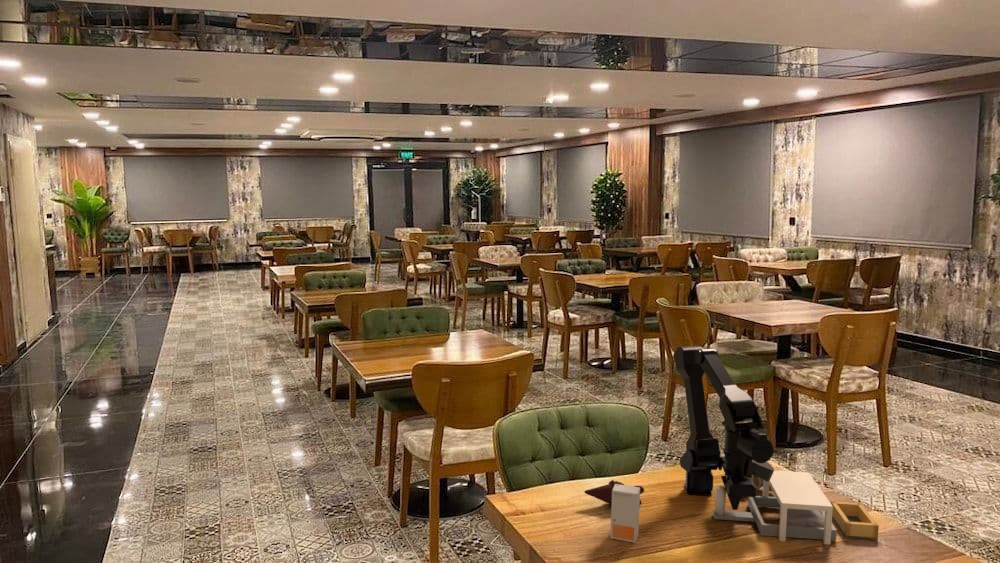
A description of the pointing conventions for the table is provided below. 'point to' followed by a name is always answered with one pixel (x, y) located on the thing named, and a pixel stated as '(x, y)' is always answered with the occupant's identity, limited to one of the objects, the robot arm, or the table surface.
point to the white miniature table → (798, 498)
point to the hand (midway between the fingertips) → (734, 509)
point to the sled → (756, 517)
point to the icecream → (607, 492)
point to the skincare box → (625, 513)
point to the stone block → (805, 518)
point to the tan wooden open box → (854, 521)
